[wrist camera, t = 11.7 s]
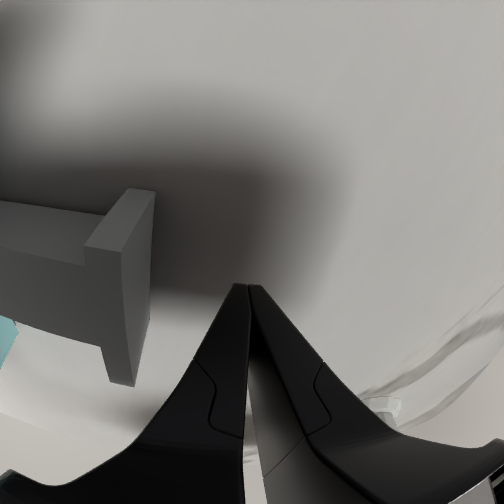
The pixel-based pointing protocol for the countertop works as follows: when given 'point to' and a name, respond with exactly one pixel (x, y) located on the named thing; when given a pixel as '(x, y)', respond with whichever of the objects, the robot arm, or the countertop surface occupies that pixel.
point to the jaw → (80, 277)
